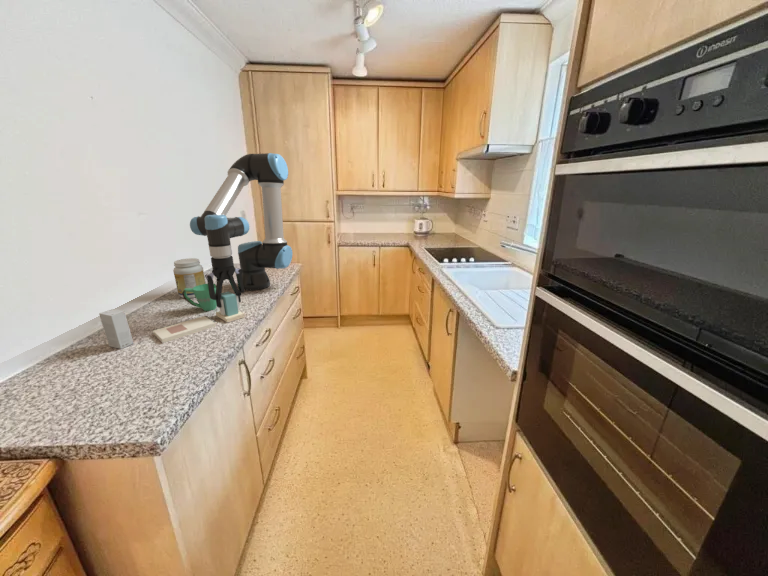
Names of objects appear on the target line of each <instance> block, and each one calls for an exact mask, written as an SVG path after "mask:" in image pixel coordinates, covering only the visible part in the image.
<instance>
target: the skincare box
mask: <svg viewBox="0 0 768 576" xmlns="http://www.w3.org/2000/svg"><path fill="white" fill-rule="evenodd" d="M98 315H99V318H100V320H101V321H100V322H101V324H102V328H103V331H104V334H105V338H106V340H107V344H108V346H109V347H111V348H114V349H119V350H122V349H124V348H127V347H128V346H131V345H134V339H133V337H132V332H131V330H130V326H129V322H128V319H127V316H126V313H125V310H119V309H115V308H114V309H113V308H112V309H108V310H107V311H102V312H99V314H98Z"/></svg>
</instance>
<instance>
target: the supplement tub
mask: <svg viewBox="0 0 768 576" xmlns="http://www.w3.org/2000/svg"><path fill="white" fill-rule="evenodd" d="M173 266H174V268H173V269H172V271H173V275H174V280H175V285H176V289H177V293H178V296H179V297H181V298H182V299H184V297H183V294H182V292H183V290H184V289H185V288H191V289H192V288H193V287H195V286H198V285H202V284H207V283H206V277H205V273H204V272H205V271H204V267H203V265H201V262H200V259H199V258H195V257H193V258H192V257H189V258H182V259H177V260H174V262H173ZM186 294H187V296H188V297H189V298H190V299H193V298H196V297H195V295H194V293H193V292H186Z"/></svg>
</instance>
